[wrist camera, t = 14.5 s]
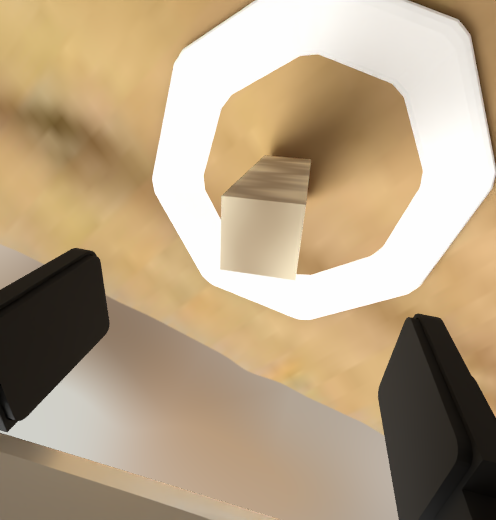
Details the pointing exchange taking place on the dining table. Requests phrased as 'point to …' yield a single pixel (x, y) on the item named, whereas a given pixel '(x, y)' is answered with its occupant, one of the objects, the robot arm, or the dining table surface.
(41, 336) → the robot arm
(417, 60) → the plate
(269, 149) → the dining table surface
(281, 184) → the rectangular block
